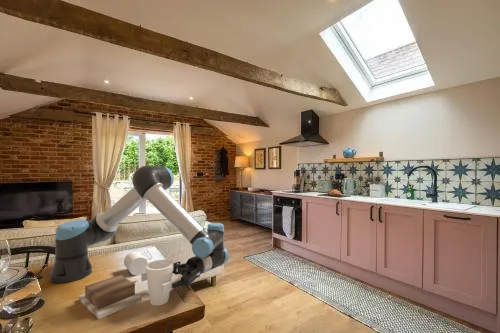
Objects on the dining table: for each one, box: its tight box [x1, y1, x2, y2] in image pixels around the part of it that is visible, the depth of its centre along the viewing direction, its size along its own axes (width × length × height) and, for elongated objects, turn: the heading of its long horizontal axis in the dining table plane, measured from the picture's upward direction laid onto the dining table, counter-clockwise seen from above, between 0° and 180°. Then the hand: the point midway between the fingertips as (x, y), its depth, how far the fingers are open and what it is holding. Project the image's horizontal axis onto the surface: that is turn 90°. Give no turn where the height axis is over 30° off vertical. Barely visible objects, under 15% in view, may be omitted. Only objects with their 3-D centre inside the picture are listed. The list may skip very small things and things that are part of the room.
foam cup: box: [145, 259, 174, 307], centre depth 87 cm, size 10×9×13 cm
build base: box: [78, 274, 143, 320], centre depth 87 cm, size 18×14×6 cm
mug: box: [123, 251, 155, 276], centre depth 113 cm, size 12×10×8 cm
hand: (151, 283), depth 84 cm, fingers open, 13 cm apart
